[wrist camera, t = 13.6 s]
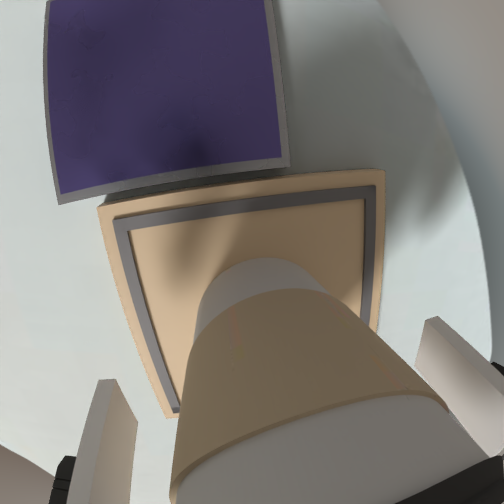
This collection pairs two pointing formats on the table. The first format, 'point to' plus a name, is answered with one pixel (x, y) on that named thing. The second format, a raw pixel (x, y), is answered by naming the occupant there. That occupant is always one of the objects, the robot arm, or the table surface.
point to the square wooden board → (238, 252)
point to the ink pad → (160, 92)
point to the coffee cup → (311, 406)
